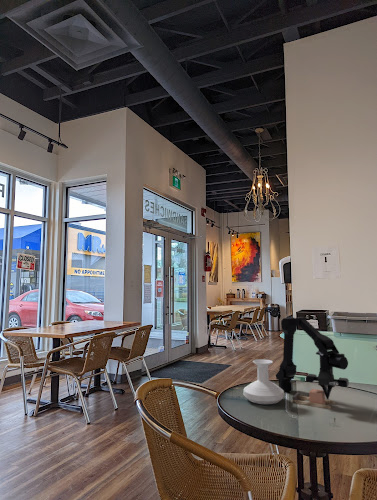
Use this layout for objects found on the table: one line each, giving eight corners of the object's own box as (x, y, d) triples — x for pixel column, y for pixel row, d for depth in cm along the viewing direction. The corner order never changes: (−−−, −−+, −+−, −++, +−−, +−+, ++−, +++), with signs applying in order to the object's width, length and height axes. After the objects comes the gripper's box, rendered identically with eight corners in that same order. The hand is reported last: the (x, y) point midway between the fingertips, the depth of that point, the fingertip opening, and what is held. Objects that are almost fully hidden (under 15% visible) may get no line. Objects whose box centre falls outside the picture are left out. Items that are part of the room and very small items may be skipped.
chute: (291, 403, 178) (291, 396, 178) (296, 398, 185) (296, 392, 185) (330, 409, 168) (330, 402, 168) (334, 404, 175) (334, 397, 176)
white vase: (292, 401, 180) (291, 361, 182) (267, 410, 168) (265, 367, 169) (260, 392, 196) (259, 355, 197) (235, 400, 183) (234, 361, 185)
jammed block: (309, 404, 174) (309, 391, 175) (312, 401, 180) (312, 388, 180) (322, 406, 171) (322, 393, 172) (325, 403, 176) (324, 390, 177)
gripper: (302, 366, 173) (303, 400, 171) (344, 371, 163) (345, 407, 161) (308, 361, 182) (309, 394, 181) (348, 366, 172) (349, 400, 171)
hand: (327, 398), depth 173 cm, fingers closed
